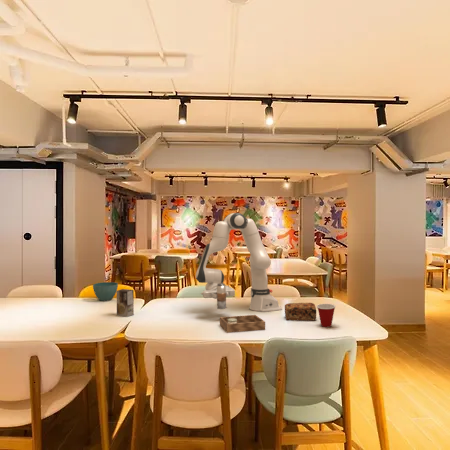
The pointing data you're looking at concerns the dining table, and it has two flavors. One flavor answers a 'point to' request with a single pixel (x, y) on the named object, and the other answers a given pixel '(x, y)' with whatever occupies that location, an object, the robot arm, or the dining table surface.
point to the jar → (232, 320)
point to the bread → (300, 311)
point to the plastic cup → (326, 314)
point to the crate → (242, 323)
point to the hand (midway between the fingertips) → (221, 295)
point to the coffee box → (125, 302)
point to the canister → (221, 296)
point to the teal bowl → (105, 290)
